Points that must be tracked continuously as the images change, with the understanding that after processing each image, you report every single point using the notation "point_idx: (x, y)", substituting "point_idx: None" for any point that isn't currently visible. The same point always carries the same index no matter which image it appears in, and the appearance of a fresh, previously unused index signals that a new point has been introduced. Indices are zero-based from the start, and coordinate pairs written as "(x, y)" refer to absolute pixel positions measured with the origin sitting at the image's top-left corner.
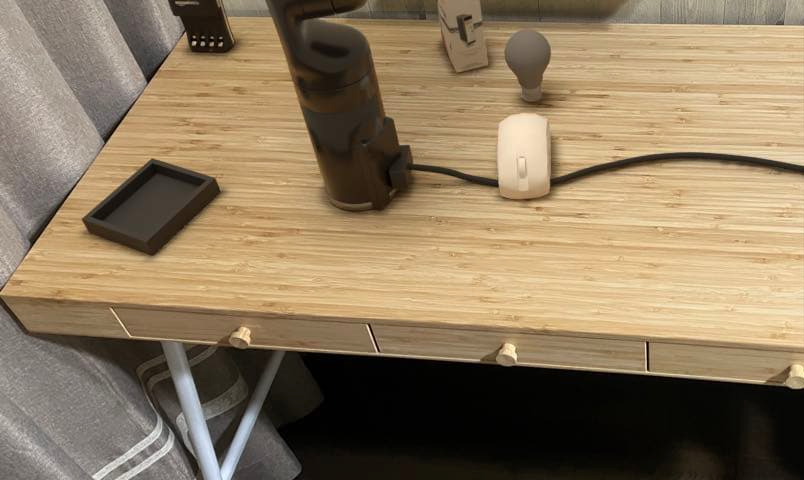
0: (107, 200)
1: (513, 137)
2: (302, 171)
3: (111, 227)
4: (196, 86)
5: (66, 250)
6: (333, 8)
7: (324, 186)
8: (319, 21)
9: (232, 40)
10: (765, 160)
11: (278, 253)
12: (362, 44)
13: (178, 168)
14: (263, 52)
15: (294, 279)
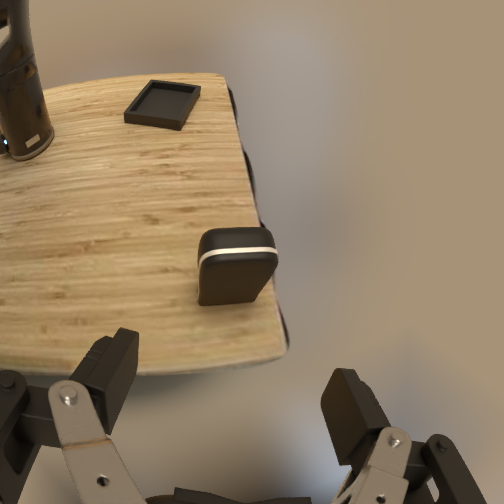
0: (192, 94)
1: None
2: (70, 145)
3: (177, 83)
4: (203, 221)
5: (205, 87)
6: None
7: (52, 129)
8: (2, 44)
9: (197, 295)
10: None
11: (79, 99)
12: None
13: (154, 115)
14: (151, 289)
15: (70, 92)
